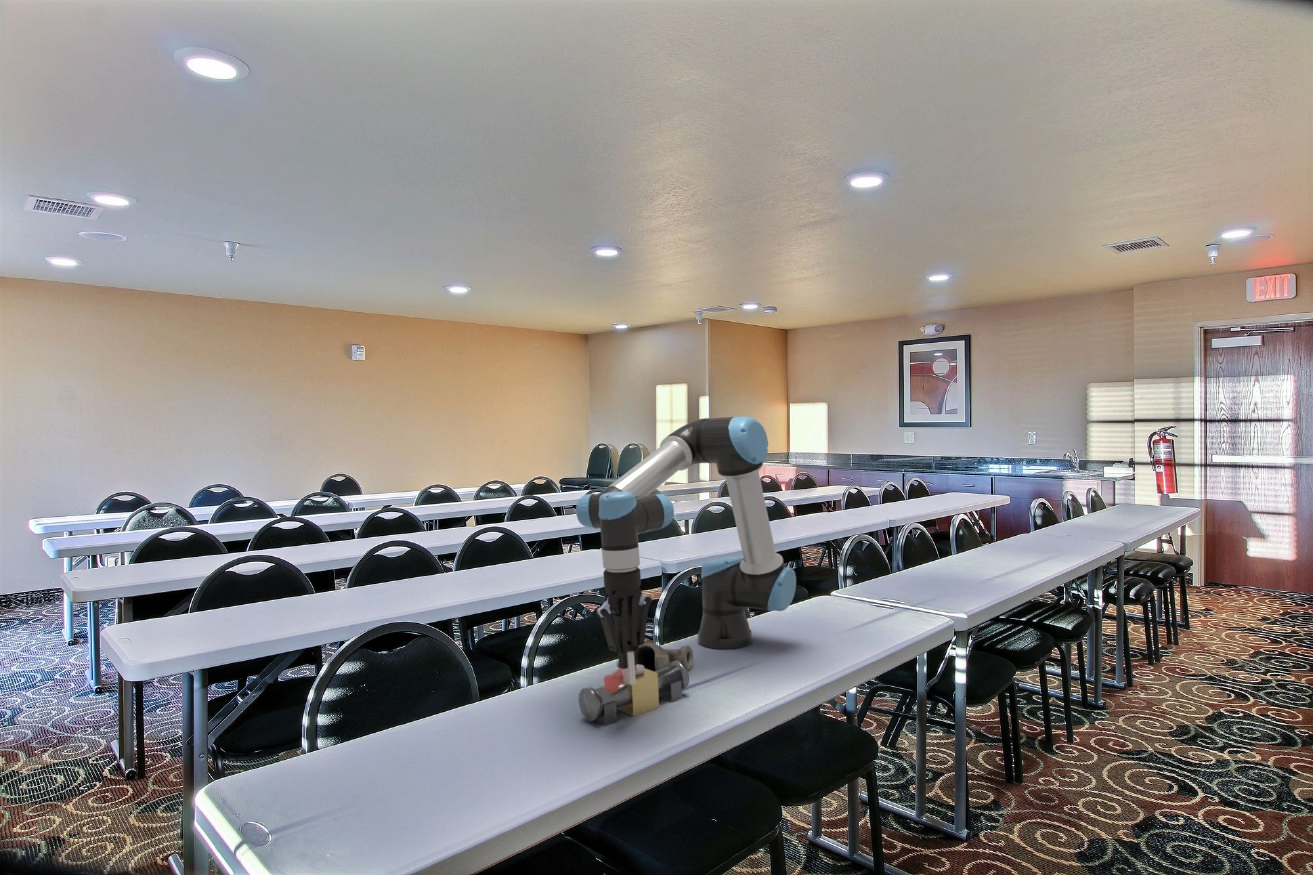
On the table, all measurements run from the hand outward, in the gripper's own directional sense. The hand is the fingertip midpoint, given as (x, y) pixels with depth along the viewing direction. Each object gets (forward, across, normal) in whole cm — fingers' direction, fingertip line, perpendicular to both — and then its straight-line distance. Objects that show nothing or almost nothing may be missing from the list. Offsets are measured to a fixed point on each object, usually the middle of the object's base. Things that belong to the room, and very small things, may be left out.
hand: (629, 682), depth 153 cm
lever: (+1, -2, -4) cm, 5 cm away
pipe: (+10, -24, -21) cm, 33 cm away
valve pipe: (+9, -7, -7) cm, 14 cm away
